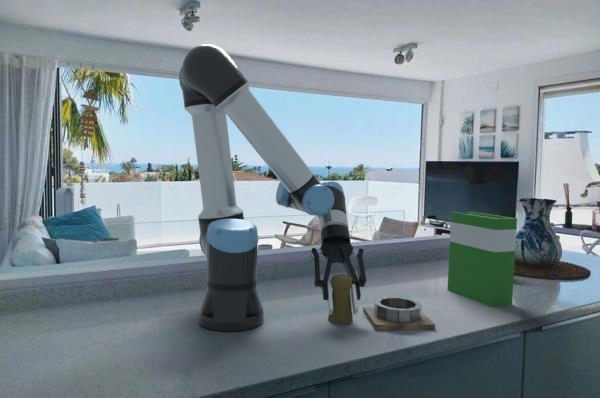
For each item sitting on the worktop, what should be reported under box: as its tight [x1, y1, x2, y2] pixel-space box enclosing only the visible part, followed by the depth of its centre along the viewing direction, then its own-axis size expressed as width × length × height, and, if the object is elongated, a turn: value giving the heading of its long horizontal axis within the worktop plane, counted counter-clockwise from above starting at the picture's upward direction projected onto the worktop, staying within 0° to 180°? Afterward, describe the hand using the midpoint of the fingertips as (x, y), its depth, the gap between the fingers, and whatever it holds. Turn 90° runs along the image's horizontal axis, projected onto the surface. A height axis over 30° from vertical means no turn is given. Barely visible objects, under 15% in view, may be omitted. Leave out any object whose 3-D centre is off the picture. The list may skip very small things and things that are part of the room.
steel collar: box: [373, 296, 423, 323], centre depth 112 cm, size 11×11×3 cm
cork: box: [327, 273, 354, 326], centre depth 111 cm, size 6×6×11 cm
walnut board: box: [362, 306, 436, 331], centre depth 112 cm, size 14×13×1 cm
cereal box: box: [447, 211, 518, 308], centre depth 134 cm, size 18×7×24 cm, turn 23°
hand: (343, 311), depth 107 cm, fingers closed on cork, 5 cm apart
